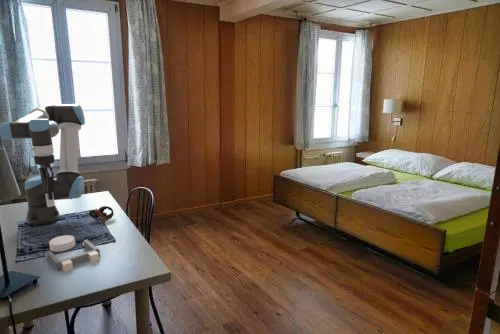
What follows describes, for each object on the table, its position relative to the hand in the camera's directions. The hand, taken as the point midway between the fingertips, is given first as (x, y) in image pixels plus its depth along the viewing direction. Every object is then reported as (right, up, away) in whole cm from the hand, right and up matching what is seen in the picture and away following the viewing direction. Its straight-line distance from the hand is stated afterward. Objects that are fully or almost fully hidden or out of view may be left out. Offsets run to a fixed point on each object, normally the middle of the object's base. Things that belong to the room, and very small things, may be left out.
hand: (51, 205), depth 151 cm
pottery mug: (+11, -11, +27) cm, 31 cm away
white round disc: (+7, -18, -3) cm, 20 cm away
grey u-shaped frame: (+17, -20, -13) cm, 29 cm away
